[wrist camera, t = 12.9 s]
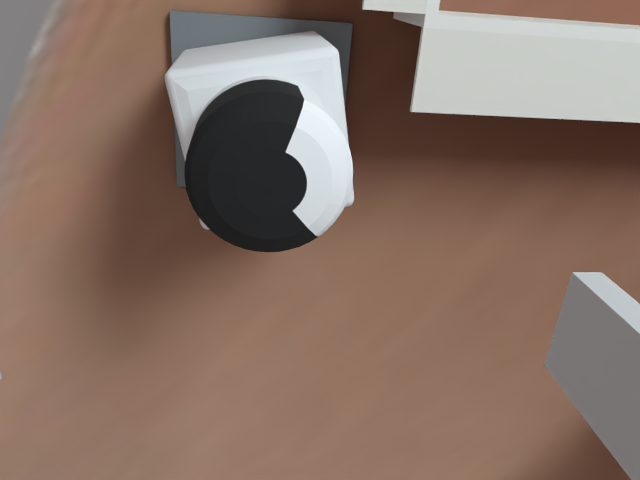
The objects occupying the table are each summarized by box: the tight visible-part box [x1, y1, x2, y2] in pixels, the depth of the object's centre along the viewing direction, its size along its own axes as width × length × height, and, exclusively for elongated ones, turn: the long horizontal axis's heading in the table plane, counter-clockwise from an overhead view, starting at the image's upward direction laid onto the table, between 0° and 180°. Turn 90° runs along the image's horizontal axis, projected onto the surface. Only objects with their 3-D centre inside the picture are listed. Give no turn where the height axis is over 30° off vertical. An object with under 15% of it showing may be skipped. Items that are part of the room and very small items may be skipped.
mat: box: [170, 10, 353, 187], centre depth 32 cm, size 10×10×1 cm
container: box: [165, 31, 354, 252], centre depth 26 cm, size 8×8×13 cm
